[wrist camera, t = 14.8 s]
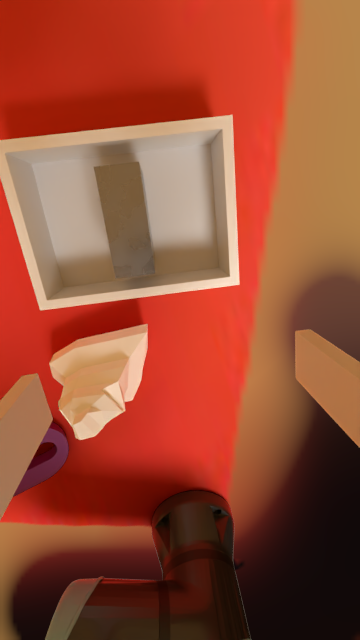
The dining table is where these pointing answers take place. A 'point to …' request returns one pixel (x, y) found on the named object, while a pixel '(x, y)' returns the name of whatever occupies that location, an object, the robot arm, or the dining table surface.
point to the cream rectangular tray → (87, 217)
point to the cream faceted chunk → (99, 377)
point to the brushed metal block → (126, 218)
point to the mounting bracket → (46, 459)
